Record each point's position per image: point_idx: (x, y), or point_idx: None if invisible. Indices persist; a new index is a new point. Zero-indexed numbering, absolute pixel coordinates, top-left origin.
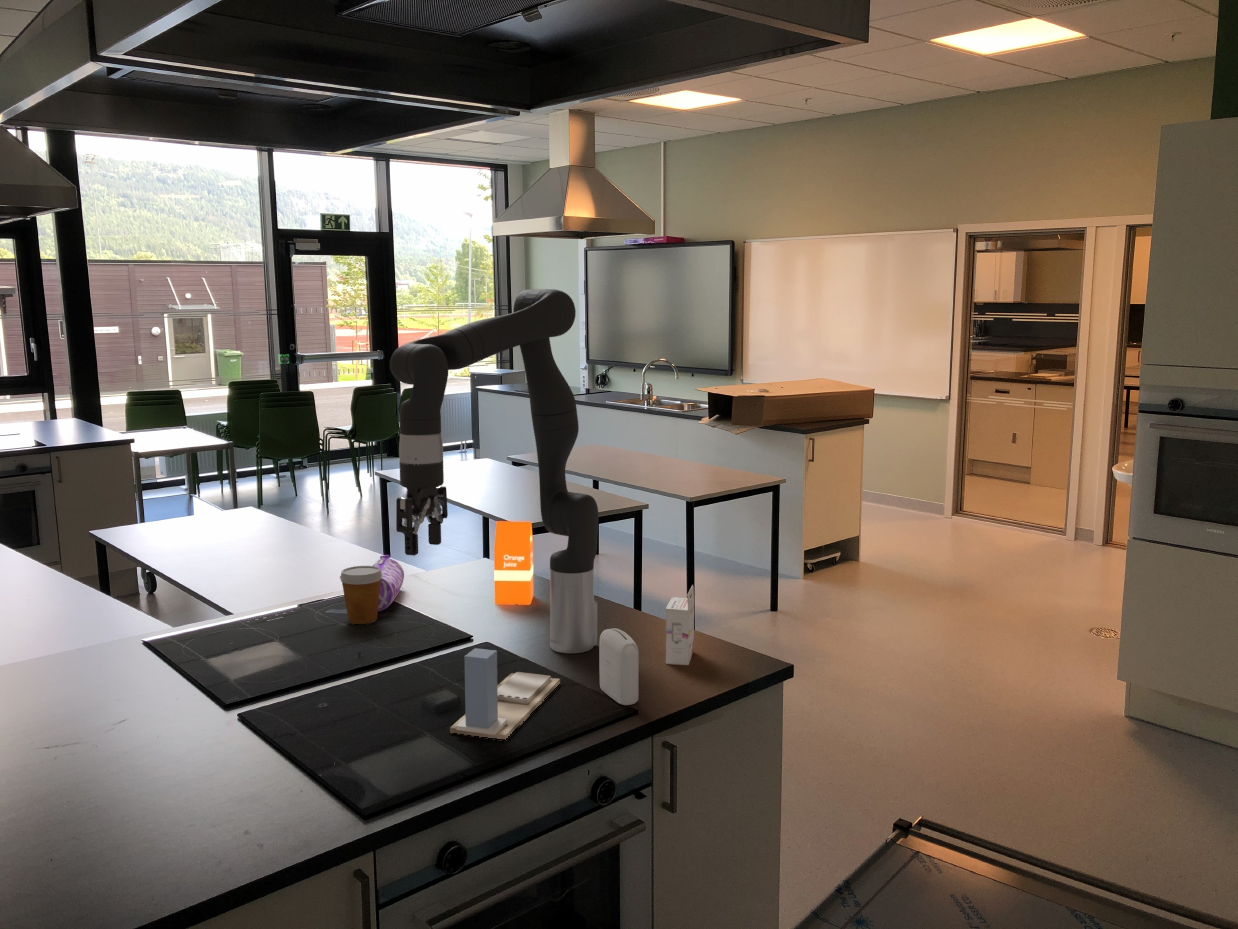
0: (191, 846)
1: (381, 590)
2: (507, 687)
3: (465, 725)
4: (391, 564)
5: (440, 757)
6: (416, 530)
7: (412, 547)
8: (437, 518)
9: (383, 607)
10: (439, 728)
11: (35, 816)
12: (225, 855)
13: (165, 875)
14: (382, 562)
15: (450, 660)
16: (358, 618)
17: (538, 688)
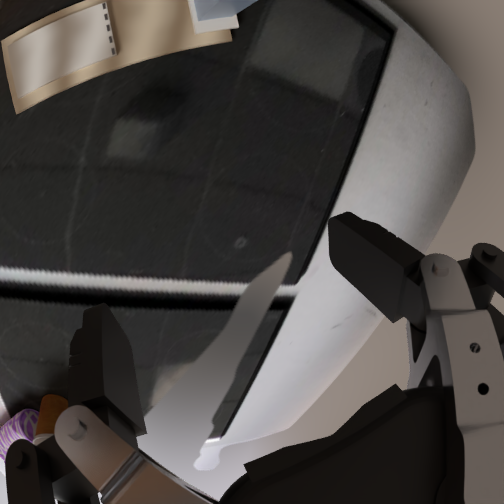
0: (440, 124)
1: (29, 427)
2: (77, 56)
3: (232, 16)
4: (4, 454)
5: (288, 18)
6: (447, 263)
7: (382, 231)
8: (127, 443)
9: (28, 410)
10: (223, 63)
11: (431, 232)
12: (441, 97)
13: (455, 115)
14: None
15: (30, 243)
16: (64, 404)
17: (57, 20)
